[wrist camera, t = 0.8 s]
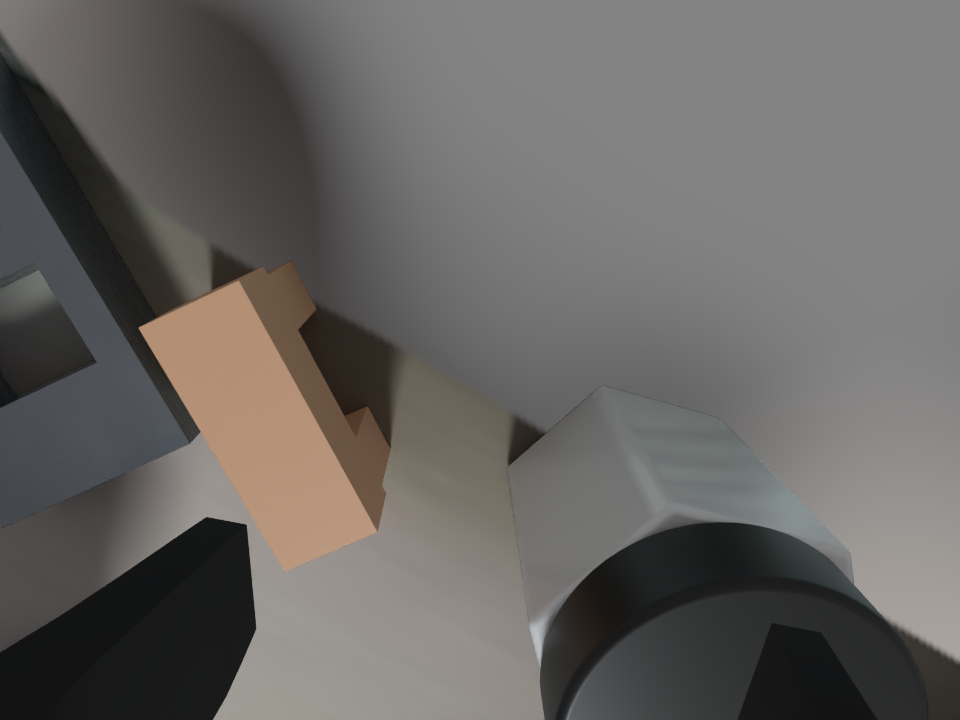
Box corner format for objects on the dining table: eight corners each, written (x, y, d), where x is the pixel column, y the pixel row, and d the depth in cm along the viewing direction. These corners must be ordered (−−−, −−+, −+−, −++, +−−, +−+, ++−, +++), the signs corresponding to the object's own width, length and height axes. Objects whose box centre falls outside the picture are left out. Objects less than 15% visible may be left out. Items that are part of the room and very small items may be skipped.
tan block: (394, 456, 27) (377, 532, 21) (319, 488, 27) (284, 571, 22) (286, 252, 25) (238, 280, 19) (206, 290, 25) (138, 327, 20)
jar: (474, 563, 28) (483, 854, 16) (541, 362, 26) (605, 532, 14) (696, 619, 29) (854, 933, 17) (778, 429, 27) (1019, 640, 15)
